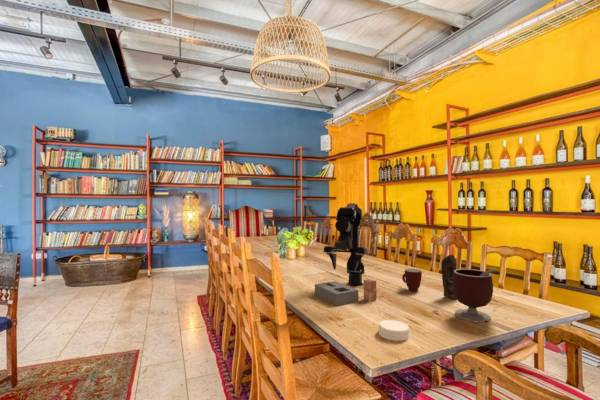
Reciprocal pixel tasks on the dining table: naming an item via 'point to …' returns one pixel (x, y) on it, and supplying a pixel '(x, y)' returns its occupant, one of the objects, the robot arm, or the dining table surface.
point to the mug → (412, 278)
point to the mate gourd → (473, 292)
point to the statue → (448, 275)
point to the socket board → (336, 293)
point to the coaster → (394, 330)
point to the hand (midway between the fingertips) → (344, 270)
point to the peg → (370, 290)
